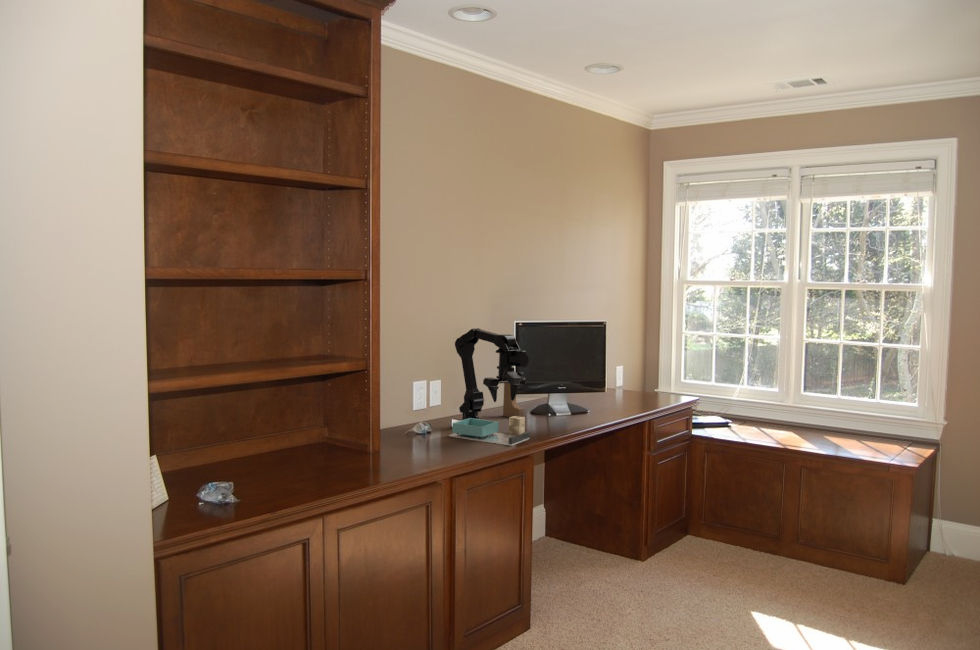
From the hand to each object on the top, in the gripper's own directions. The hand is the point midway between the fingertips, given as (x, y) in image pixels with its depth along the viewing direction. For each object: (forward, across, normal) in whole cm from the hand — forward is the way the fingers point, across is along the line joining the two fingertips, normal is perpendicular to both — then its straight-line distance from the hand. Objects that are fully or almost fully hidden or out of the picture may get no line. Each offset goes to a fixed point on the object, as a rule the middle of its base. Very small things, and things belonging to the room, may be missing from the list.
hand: (503, 401), depth 320 cm
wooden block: (+14, +28, +28) cm, 42 cm away
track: (+14, -10, -5) cm, 18 cm away
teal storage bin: (+14, -13, +1) cm, 19 cm away
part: (+14, +5, -4) cm, 15 cm away
